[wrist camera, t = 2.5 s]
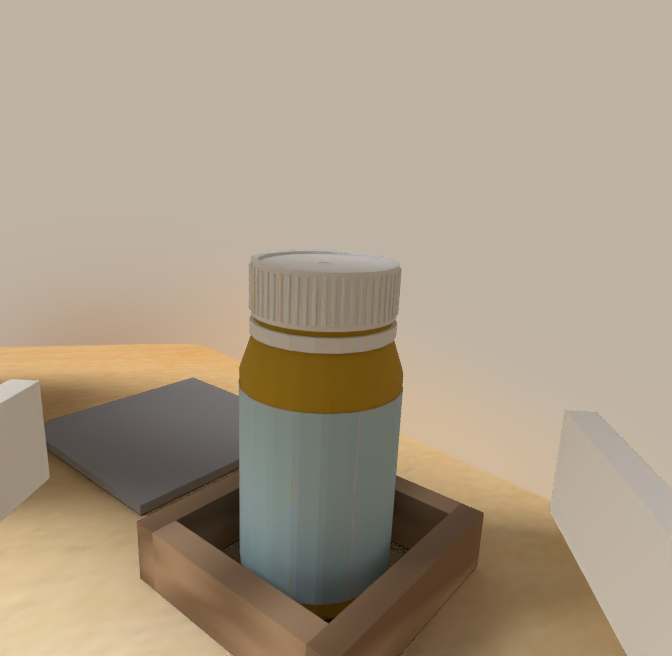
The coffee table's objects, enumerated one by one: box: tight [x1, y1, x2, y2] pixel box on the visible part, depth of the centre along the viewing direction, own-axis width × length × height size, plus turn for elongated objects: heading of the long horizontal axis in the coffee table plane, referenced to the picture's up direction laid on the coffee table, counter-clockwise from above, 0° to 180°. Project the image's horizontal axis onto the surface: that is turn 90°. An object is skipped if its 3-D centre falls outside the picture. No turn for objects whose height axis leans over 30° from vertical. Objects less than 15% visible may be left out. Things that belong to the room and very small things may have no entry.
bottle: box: [239, 250, 403, 620], centre depth 24 cm, size 7×7×15 cm
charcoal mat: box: [44, 378, 239, 515], centre depth 40 cm, size 14×14×1 cm
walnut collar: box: [137, 472, 484, 656], centre depth 26 cm, size 11×11×3 cm
